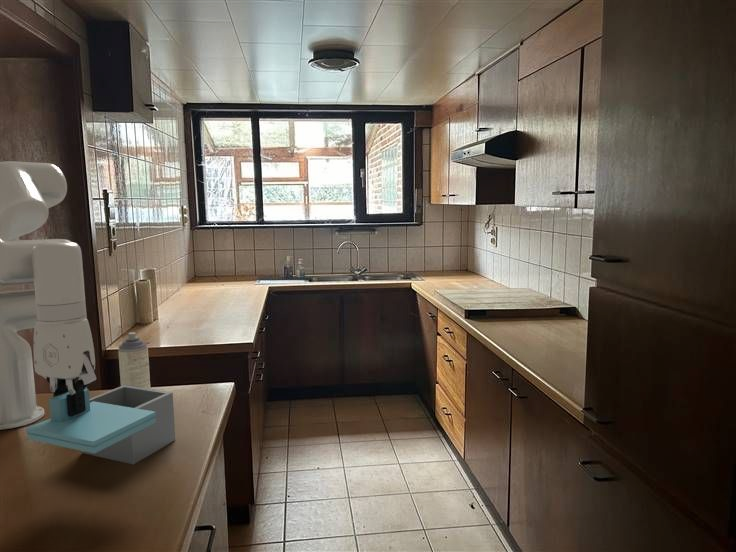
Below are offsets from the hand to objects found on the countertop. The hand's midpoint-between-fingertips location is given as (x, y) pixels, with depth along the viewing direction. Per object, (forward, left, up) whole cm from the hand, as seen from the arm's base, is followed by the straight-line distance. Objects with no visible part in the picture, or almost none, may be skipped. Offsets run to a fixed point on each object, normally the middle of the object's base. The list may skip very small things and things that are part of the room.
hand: (70, 411), depth 95 cm
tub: (-5, +17, -15) cm, 23 cm away
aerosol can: (-20, +34, -15) cm, 42 cm away
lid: (+6, 0, -3) cm, 6 cm away
